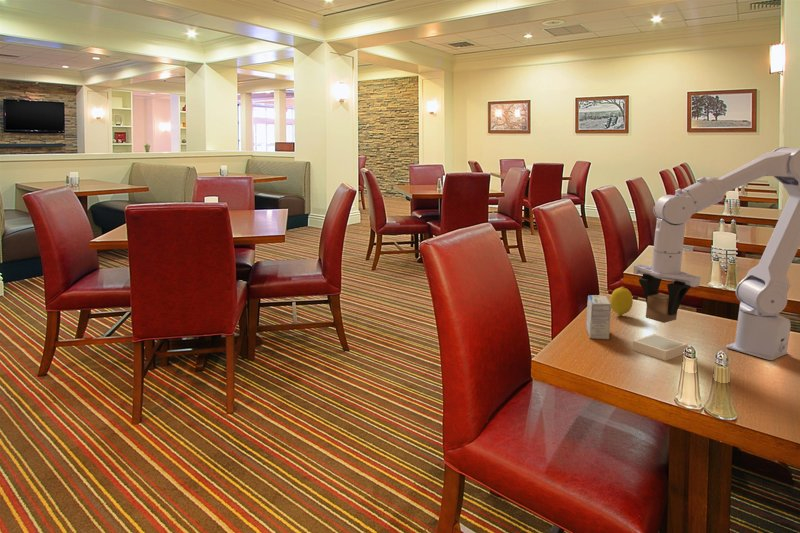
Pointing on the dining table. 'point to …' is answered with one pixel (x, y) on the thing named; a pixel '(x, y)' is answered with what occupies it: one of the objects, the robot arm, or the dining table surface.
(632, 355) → the dining table surface
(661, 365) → the dining table surface
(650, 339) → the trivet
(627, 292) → the lemon
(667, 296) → the walnut block
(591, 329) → the medicine box
